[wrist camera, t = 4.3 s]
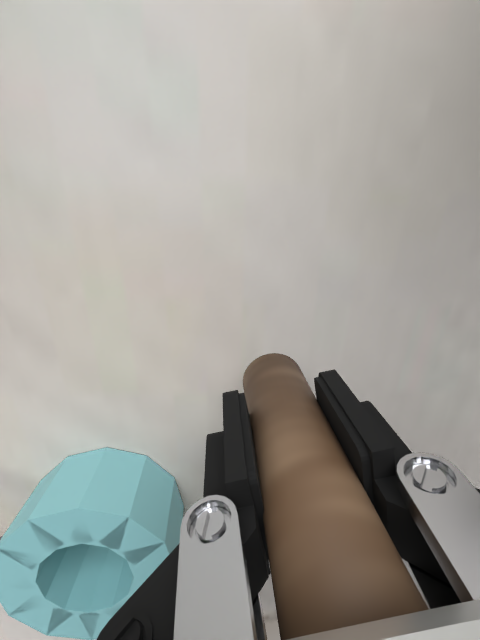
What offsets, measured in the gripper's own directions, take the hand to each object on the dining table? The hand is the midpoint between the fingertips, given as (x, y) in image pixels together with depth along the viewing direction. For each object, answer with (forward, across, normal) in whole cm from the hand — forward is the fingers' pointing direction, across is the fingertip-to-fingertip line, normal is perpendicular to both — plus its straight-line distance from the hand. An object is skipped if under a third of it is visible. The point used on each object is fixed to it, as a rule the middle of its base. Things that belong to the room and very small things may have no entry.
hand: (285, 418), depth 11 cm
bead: (+5, +11, +8) cm, 15 cm away
